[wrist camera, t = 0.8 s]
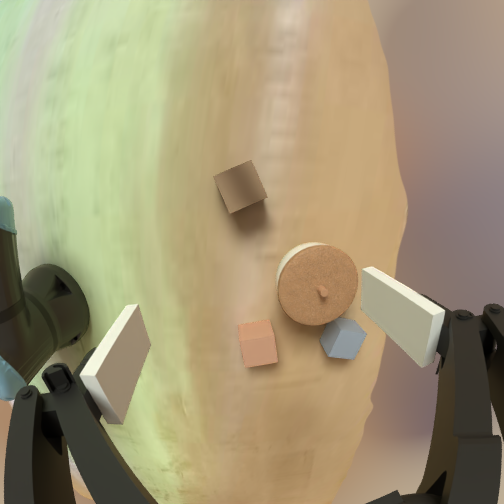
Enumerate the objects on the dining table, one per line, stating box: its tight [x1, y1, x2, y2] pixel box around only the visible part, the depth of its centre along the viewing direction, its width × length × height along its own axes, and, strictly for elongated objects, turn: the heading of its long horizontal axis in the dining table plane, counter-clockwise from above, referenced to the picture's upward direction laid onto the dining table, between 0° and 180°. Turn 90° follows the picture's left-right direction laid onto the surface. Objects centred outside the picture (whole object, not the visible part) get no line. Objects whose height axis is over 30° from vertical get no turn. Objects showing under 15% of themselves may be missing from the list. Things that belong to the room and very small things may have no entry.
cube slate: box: [320, 317, 367, 360], centre depth 41 cm, size 5×5×5 cm
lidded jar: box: [276, 242, 358, 325], centre depth 36 cm, size 11×11×9 cm
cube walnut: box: [213, 160, 267, 214], centre depth 35 cm, size 5×5×5 cm
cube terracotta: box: [238, 320, 278, 368], centre depth 40 cm, size 5×5×5 cm
